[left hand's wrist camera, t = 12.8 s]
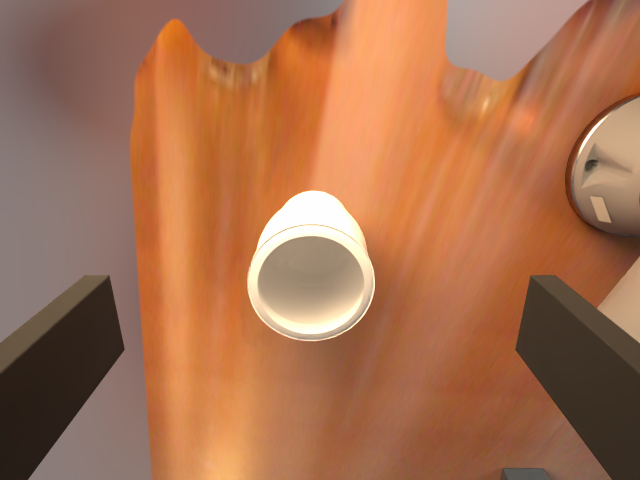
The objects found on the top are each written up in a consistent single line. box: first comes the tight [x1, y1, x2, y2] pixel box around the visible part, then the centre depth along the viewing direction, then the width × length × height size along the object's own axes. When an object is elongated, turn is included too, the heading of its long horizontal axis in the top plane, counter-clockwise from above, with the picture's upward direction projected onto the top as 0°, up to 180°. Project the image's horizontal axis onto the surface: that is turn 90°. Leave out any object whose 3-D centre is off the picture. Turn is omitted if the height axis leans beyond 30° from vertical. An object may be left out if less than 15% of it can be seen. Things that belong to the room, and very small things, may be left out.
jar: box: [247, 191, 375, 341], centre depth 39 cm, size 11×10×15 cm
